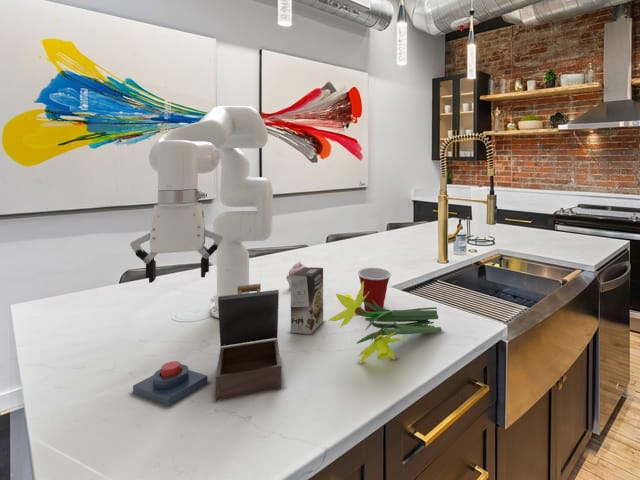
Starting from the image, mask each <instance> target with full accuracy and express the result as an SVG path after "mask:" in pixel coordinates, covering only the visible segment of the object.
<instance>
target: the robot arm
mask: <svg viewBox="0 0 640 480" xmlns="http://www.w3.org/2000/svg"><path fill="white" fill-rule="evenodd" d="M268 139H269V132H268V128H267V125H266V124H265V121H264V120H263V118H262V116H261V114H260V112H259V111H258V110H256V109H255V108H254V107H252V106H249V105H217V106H214V107H212V108H210V109H209V111H207V112H206V114H204V116H203V117H202V118H201V119H199V121H197V122H192V123H189V124H187V125H183V126H180V127H177V128H174V129H171V130H168V131H167V132H165V133H163V134H162V135H161V136H160V137H159V138H158V139H156V140H155V142H154V143H153V145H152V146H151V148H150V150H149V155H148V161H149V165H150V167H151V168H152V170H154V171H155V172H157V204H155V205H154V206H153V209H152V216H151V222H150V232H147V234H144V235H142V236H141V237H138V238H136V239H135V240H133V241H131V242H130V243H129V244H130V245H129V246H130V247H131V249H132V250H133V252H134V253H135V256H136V257H138V258H139V259H140V260H141V261H142V262H143V264H145V279H148V283H149V284H151V283H153V282H154V281H155V280H156V279H157V261H156V260H155V257H156V256H157V255H158V254H171V253H172V254H173V253H185V252H187V253H188V252H195V251H197V253H199V254H200V255H201V259H200V278H206V275H207V273H209V272H210V257H211V256H212V255H213V254H214V253H215V251H216V293H215V294H213V297H211V298H210V299H209V301H210V302H211V303H214V307H213V308H212V309H211V316H212V317H214V318H217V319H219V311H218V297H219V296H227V295H236V294H238V286H242V285H250V254H249V251H248V249H247V247H246V246H245V244H244V243H243V242H264V241H267V240H269V238H271V236H272V231H273V207H274V206H273V205H274V204H273V203H274V191H273V185H272V182H271V181H270V179H269V178H267V177H264V176H263V177H262V176H250V166H251V165H250V161H249V159H248V158H247V156H246V155H245V154H244V153H243V151H242V150H241V149H262V148H264V147H265V146H266V145H267V143H268ZM219 163H220V169H221V170H220V186H219V187H220V190H219V191H220V192H219V198H220V199H219V200H220V203H221V205H222V206H225V207H229V208H251V207H253V208H256V210H231V211H223V212H221V213H218V214H217V215H216V216H215V217H214V219H213V222H212V230H213V231H211V230H209V229H207V228H206V222H205V211H204V207H203V203H202V202H199V201H200V200H201V199H205V198H206V192H205V191H200V190H199V184H198V183H199V174H207V173H211V172H213V171H214V170H215V169H217V168H218V165H219ZM206 238H209V239H211V240H213V243H212V245H211V246H210V247H209V248H207V247H206V246H205V244H206ZM148 241H149V250H150V252H147V251H146V250H144V249H143V247H142V244H144V243H146V242H148ZM245 293H250V292H244V293H242V294H245Z"/></svg>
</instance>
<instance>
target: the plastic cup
mask: <svg viewBox="0 0 640 480" xmlns="http://www.w3.org/2000/svg"><path fill="white" fill-rule="evenodd" d="M357 275H358V277H359V282H360V285H361V284H362V282H363V281H364V288H363V297H364V296H366V295H367V296H366V297H365V299H364V301H366V302H368V303H370V304H372V305H374V306H376V305H375V304H374V302H375V303H376V304H377V305H378V306H380V307H381V308H383V309H384V307H385V306H384V305H385V301H386V295H387V289H388V284H389V281H390V278H391V277H392V272H391V271H389V270H387V269H385V268H381V267H364V268H361V269H358V270H357ZM368 292H369V293H368ZM363 297H362V298H363ZM372 300H373V301H374V302H373V301H372ZM363 305H364V309H365V311H368V312H378V311H375V310H373V309H371V308H370V307H369V306H367V305H366V304H365V303H364V302H363ZM376 307H377V306H376Z"/></svg>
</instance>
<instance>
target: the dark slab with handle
mask: <svg viewBox="0 0 640 480" xmlns="http://www.w3.org/2000/svg"><path fill="white" fill-rule="evenodd" d="M261 287H262V286H261V283H253V284H252V283H251V284H249V285H242V286H238V294H236V295H227V296H219V297H218V311H219V318H218V330H219V344H220V345H219V346H220V347H227V346H234V345H240V344H247V343H254V342H260V341H267V340H273V339H278V335H279V334H278V333H279V332H278V331H279V330H278V329H279V301H280V300H279V299H280V293H279V292H280V291H279V289H274V290H273V289H272V290H263V291H261V289H262V288H261ZM244 292H249V293H245V294H242V293H244Z"/></svg>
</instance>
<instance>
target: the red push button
mask: <svg viewBox="0 0 640 480" xmlns="http://www.w3.org/2000/svg"><path fill="white" fill-rule="evenodd" d="M181 364H182V363H181V362H180V361H178V360H172V361H168V362H166V363H163V365H161V367H160V369H161V377H163V378H166V377H172V376H175V375H177V374H179V373H180V372H181Z"/></svg>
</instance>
